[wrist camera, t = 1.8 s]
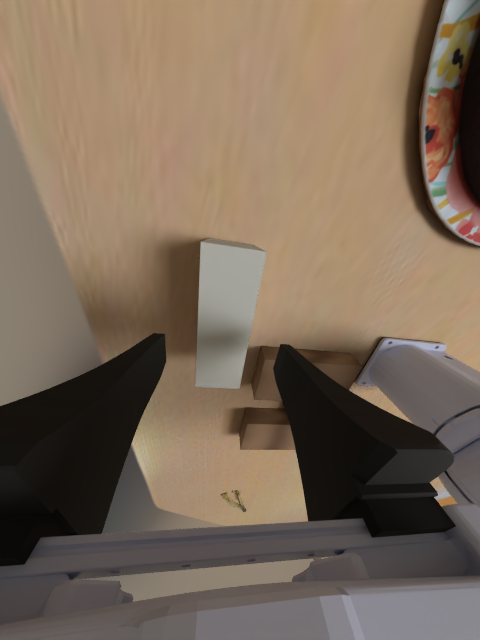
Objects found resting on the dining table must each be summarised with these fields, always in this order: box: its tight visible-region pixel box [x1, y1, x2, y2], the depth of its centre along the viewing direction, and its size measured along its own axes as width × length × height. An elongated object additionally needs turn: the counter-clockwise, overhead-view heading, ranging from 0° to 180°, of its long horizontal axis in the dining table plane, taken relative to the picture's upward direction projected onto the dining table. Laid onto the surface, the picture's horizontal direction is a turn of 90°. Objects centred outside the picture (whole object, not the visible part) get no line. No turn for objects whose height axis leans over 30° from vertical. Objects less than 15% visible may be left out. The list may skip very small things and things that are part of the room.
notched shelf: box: [239, 346, 363, 450], centre depth 25 cm, size 12×18×2 cm, turn 171°
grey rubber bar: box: [195, 238, 266, 389], centre depth 16 cm, size 4×12×6 cm, turn 172°
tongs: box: [222, 491, 246, 512], centre depth 42 cm, size 4×13×2 cm, turn 22°
